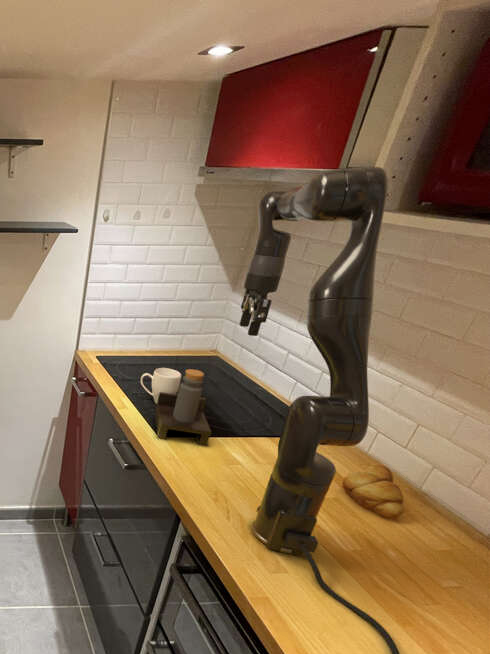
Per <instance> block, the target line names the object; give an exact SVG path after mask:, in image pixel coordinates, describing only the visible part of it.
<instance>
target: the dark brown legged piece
mask: <svg viewBox="0 0 490 654" xmlns="http://www.w3.org/2000/svg"><path fill="white" fill-rule="evenodd" d="M177 396H178V393H176V394H171V393H163V392H160V393H159V397H158V402H157V404H156V409H155V415H154V419H153V421H154V425H155V430H156V434H157V439H163V440H166V438H167V433H168V430H172V431H179V432H185V433H192V434H195V437H196V440H197V443H198V445H199V446H205V447H207V446H208V442H209V438H210V436H212V430H211V428H210V424H209V423H208V420H207V418H206V416H205V413H204V409H205V405H206V401H207V399H206V397H200V401H199V405H198V409H197V413H196V416H195V420H194V422H193V423H183V422H179V421H177V420H175V419H174V418H173V413H174V409H175V404H176V400H177Z"/></svg>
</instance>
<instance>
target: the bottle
mask: <svg viewBox="0 0 490 654" xmlns="http://www.w3.org/2000/svg"><path fill="white" fill-rule="evenodd" d="M204 376H205V373H204V372H202V371H200V370H198V369H193V368H190V369H186V370H185V375H183V377H182V381H183V382H180V384H179V388H178V391H177V394H178V396H177V400H176V404H175V409H174V413H173V418H174V419H175V420H177V421H179V422H183V423H193V422H194V420H195V416H196V413H197V409H198V405H199V401H200V398H202V393H203V387H202V386H201V385H202V384H203V383H204V379H203V378H204Z"/></svg>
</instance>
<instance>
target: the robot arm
mask: <svg viewBox="0 0 490 654" xmlns="http://www.w3.org/2000/svg"><path fill="white" fill-rule="evenodd" d="M388 186H389V180H388V174H387V171H386V170H385V169H384V168H383V167H380V166H361V167H351V168H350V167H349V168H348V167H347V168H335V169H328V170H325V171H322V172H320V173H318V174H315V175H314V176H313V177H311V178H310V179H309V180H308V181H306V182H305V183H304V184H303V185H302V186H298V187H295V188H292V189H289V190H270V191H268V192H266V193H265V194H264V195H263V196H261V198H260V200H259V203H258V207H257V211H258V213H257V214H258V235H257V240H256V244H255V248H254V252H253V255H252V258H251V259H250V263H249V265H248V270H247V272H246V277H245V281H244V285H243V288H244V289H245V292H244V295H243V299H242V302H241V305H240V309H241V317H240V320H239V326H240V327H243V328H247V327H248V330H247V335H248V336H251V337H257V336H258V335H259V332H260V329H261V325H262V323H266V322H267V320H268V319H267V318H268V317H269V316H268V315H269V312H270V308H271V304H272V299H268V294H270V293H271V294H272V293H275V292H277V290H278V288H279V285H280V280H281V278H282V274H283V271H284V268H285V263H286V257H287V255H288V250H289V247H290V244H291V240H292V234H291V233H290V232H288V231H285V230H280V229H277V228H275V227H274V225H273V222H274V221H275V222H300V221H302V220H304V219H306V220H310V221H314V222H318V223H331V222H333V223H337V222H350V230H349V235H348V236H347V237H348V238H347V240H346V243H345V245H344V247H343V248H342V250H341V251H340V253H339V254H338V255H337V257H336V258H335V259H334V260H333V262H332V263H331V264H330V265H329V266H328V267H327V268H326V270H324V271H323V273H322V274H321V275H320V276H319V278H318V279H317V280H316V281H315V283H314V284H313V286H312V287H311V289H310V291H309V294H308V299H307V311H306V329H307V332H308V334H309V337H310V338H311V341H312V342H313V344H314V345H315V347H316V348H317V350H318V352H319V353H320V355H321V357H322V358H323V360H324V362H325V364H326V366H327V369H328V374H329V380H330V381H329V382H330V386H329V387H330V388H329V396H325V395H300V396H298V397H296V398H295V399H294V400H293V401H292V402H291V404H290V405H289V407H288V409H287V411H286V414H285V418H284V422H283V426H282V430H281V433H280V436H279V440H278V444H277V457H276V460H275V463H274V465H273V469H272V471H271V474H270V477H269V480H268V482H267V484H266V488H265V491H264V494H263V497H262V499H261V501H260V504H259V506H258V507H257V509H256V513H257V514H256V517H255V519H254V521H253V523H252V526H251V531H252V533H253V534H254V536H255V537H256V538H257V539H258V540H259V541H260V542H261V543H263V544H264V545H265V546H266V549H268V550H270V551H275V552H279V553H285V554H289V555H295V556H298V557H303V555H304V556H305V558H306V560H307V562H308V563H309V565H310V568H311V570H312V572H313V575H314V577H315V580H316V581H317V583H318V585H320V587H321V588H322V589H323V591H325V593H327V594H328V595H329V596H330V597H332V598H333V599H334V600H335V601H337V602H339V603H340V604H341V605H343V606H345V607H346V608H347V609H349V610H350V611H352V612H353V613H355V614H356V615H358V616H359V617H361V618H362V619H364V620H365V621H366V622H368V623H369V624H370V625H371V626H373V628H374V629H376V631H377V632H379V634H380V635H381V636H382V637H383V639H384V641H385V642H386V644H387V646H388V648H389V649H390V653H391V654H400V652H399V649H398V646H397V644H396V642H395V641H394V639H393V637H392V636H391V635H390V634H389V632H387V630H386V629H385V628H384V627H383V626H382V625H381V624H380V623H379V622H378V621H377V620H376V619H375V618H373V617H372V616H371V615H369V614H368V613H366V612H365V611H364V610H362V609H360V608H358V607H357V606H355V605H354V604H352V603H351V602H350V601H348V600H346V599H345V598H343V597H341V596H340V595H339V594H338V593H337V592H335V591H334V590H333V589H332V588H331V587H330V586H329V585H328V584H327V583H326V581H324V578H323V577H322V574H321V572H320V568H319V567H318V564H317V563H316V561H315V560H314V559H315V558H314V557H313V555H312V554H315V552H316V550H317V547H318V546H319V541H318V539H317V537H316V536H315V535H312V534H313V532H314V529H315V527H316V524H317V522H318V519H317V518H318V516H319V513H320V510H321V509H322V506H323V503H324V501H325V498H326V497H327V494H328V492H329V489H330V487H331V485H332V483H333V481H334V479H335V476H336V473H337V468H336V465H335V464H334V462H333V461H331V460H330V459H329V458H328V457H326V456H325V455H323V454H322V453H319V452H317V451H318V447H319V446H329V447H355V446H357V445H359V444H360V443H361V442H362V441H363V440H364V439H365V437H366V435H367V432H368V427H369V420H370V404H369V403H370V402H369V381H368V363H369V362H368V361H369V345H370V331H371V325H372V317H373V308H374V307H373V305H374V289H375V271H376V261H377V252H378V246H379V240H380V234H381V229H382V223H383V218H384V213H385V209H386V203H387V197H388V188H389V187H388ZM311 553H312V554H311Z"/></svg>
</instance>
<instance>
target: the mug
mask: <svg viewBox="0 0 490 654" xmlns="http://www.w3.org/2000/svg"><path fill="white" fill-rule="evenodd" d="M145 376H146V377H149V378H150V379H151V391H150V390H149V389H148V388H147V387H146V386H145V385H144V382H143V380H144V377H145ZM181 380H182V374H181V373H180V372H179V371H178V370H175V369H173V368H167V367H158V368H156V369H154V371H153V374H150V373H149V372H145V373H143V374H142V375H141V377H140V385H141V386H142V388H143V389H144V390H145V392H146V393H148V394H149V395H150V396H152V397H153V402H154V403H155V405H157V402H158V397H159V393H160V392H163V393H171V394H178V392H179V387H180V384H181Z"/></svg>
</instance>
